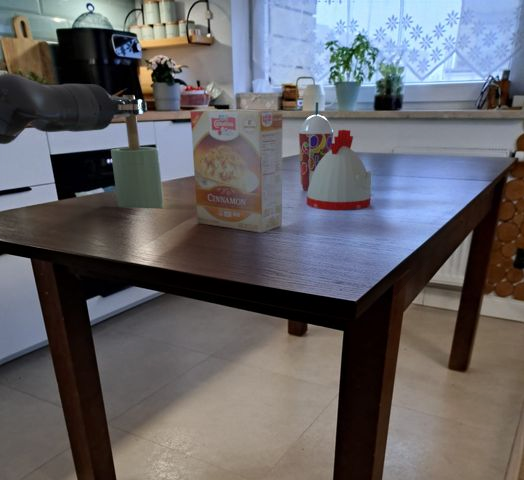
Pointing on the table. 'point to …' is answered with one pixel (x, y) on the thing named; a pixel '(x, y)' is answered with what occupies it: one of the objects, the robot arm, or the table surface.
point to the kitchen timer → (340, 178)
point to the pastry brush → (132, 129)
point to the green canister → (137, 177)
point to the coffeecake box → (238, 168)
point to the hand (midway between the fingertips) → (138, 106)
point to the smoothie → (313, 144)
